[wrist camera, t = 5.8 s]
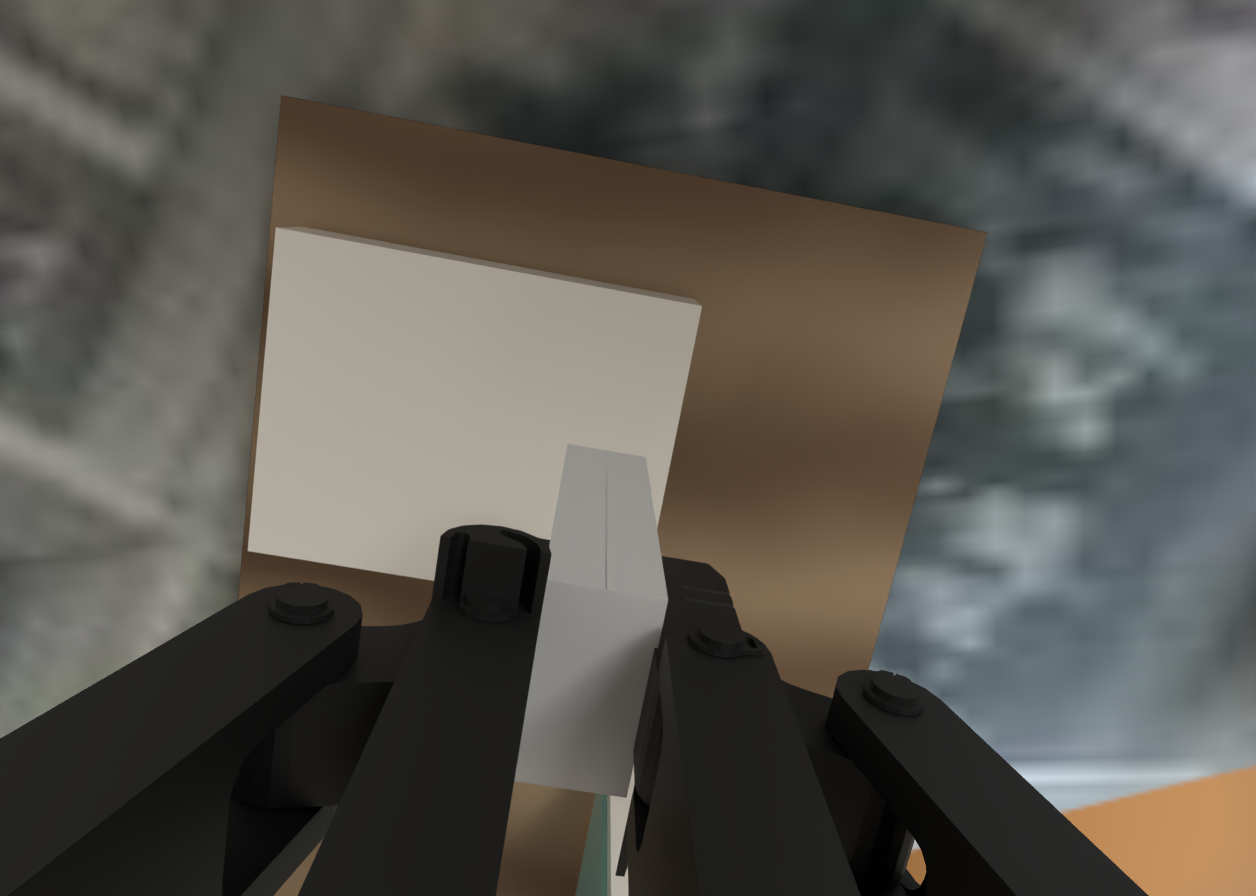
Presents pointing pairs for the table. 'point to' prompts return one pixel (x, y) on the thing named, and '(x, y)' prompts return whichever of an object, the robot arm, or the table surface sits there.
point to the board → (716, 386)
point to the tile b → (605, 847)
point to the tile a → (446, 396)
